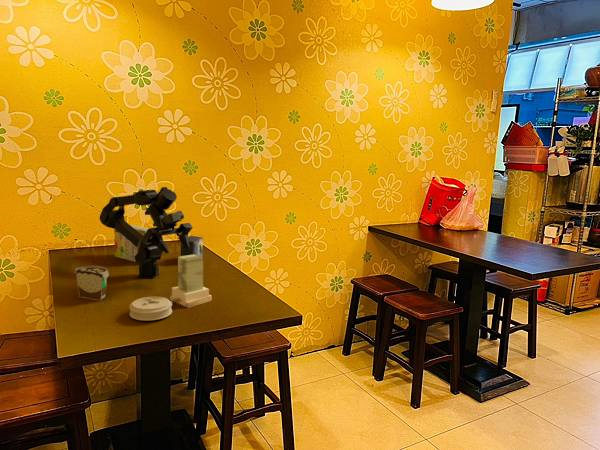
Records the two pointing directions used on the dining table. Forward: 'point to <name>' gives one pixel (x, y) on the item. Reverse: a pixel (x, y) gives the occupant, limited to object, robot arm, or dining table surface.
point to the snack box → (126, 244)
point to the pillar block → (190, 273)
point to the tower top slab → (190, 294)
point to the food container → (92, 282)
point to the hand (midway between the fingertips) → (178, 250)
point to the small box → (193, 247)
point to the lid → (150, 308)
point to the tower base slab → (192, 302)
